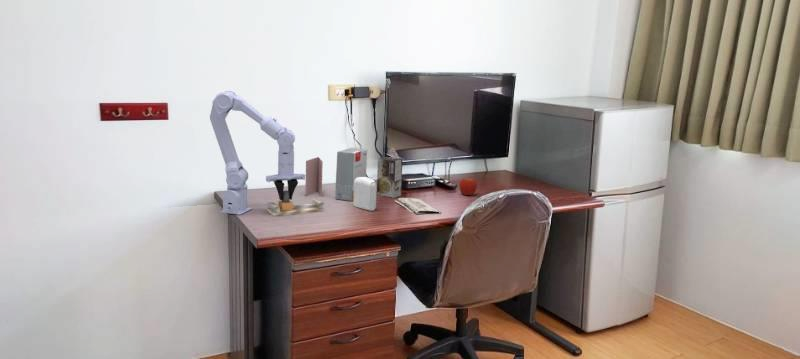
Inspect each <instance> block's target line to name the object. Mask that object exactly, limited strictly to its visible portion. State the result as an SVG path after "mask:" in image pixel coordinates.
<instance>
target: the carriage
mask: <svg viewBox="0 0 800 359" xmlns="http://www.w3.org/2000/svg"><path fill="white" fill-rule="evenodd" d="M289 194H290V191H288V190H283V200H278V201H277V202H278V204H277V205H278V206H280V207H282V209H281V210H282V211H285V210H292V207H293V206H294V203H293V202H292V201H291V200H290V199H289Z"/></svg>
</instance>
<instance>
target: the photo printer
mask: <svg viewBox="0 0 800 359" xmlns="http://www.w3.org/2000/svg"><path fill="white" fill-rule="evenodd" d="M352 201H353V207H355V208H359V209H363V210H367V211H375V209H377V208H376V207H377V181H375V180H374V179H372V178H370V177H367V176H366V177H358V178H356V179H355V180H354V196H353V200H352Z"/></svg>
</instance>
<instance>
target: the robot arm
mask: <svg viewBox="0 0 800 359" xmlns="http://www.w3.org/2000/svg"><path fill="white" fill-rule="evenodd" d="M211 106H212V107H211V109H210V114H209V121H210V123H211V126H212V129H213V132H214V135H215V138H216V141H217V144H218V146H219V148H220V150H219V151H220V152H221V155H222V158H223V161H224V164H225V168H224V170H225V174H226V179H225V181H226V184H227V186H226V187H227V189H226V191H225V192H224V193H223V195H222V210H220V213H222V214H231V215H238V216H239V215H242V214H244V213H246V212H248V211H251V210H252V209H253V208H252V207H249V206H248V185H247V183H246V182H247V181H248V180H249V173H248V171H247V169H246V168H244V165H243V163H242V161H240V159H239V155H238V153H237V151H236V147H235V144H234V141H233V139H232V135H231V133H230V130H229V127H228V124H227V120H226V118H228V117H227V116H228V114H229V113H230V111H231V110H232V111H234V112H236V111H238V112H242V113H243V114H245V115H246V116H248V117H249V118H250V119H251V120H253V121H255V122H256V123H257V124H259V126H260V131H262V132H264V133H265V134H266V135H268V136H269V137H270V138H271V139H273V140H275V141H276V144H277V145H278V151H277V152H278V153H277V154H278V155H277V156H278V157H277V174H272V175H266V176H265V181H266V182H268V183H271V182H273V183H274V186H275V188H276V191H277V193H278V194H277V195H278V199H279V201H282V200H283V191H284V188H285V182H284V181H286V182H287V183H286V184H287V191H290V194H289V201H291V200H292V199H293V196H294V193H295V192H294V191H296V187H297V186H298V184H299V181H298V180H303V181H304V180H305V181H306V173H295V150H294V149H295V147H294V143H295V141H296V135H295V134H294V132H293V131H292V130H291V129H288V127H287V126H283V125H282V124H280V123H279V122H278V121H277V120H278V119H277V118H275V117H273V118H272V116H269V117H268V116H264V115H263V114H262V113H261V112H260V111H258V109H256V108H255V107H254V106H253V105H252V104H250V103H249V102H248V101H247V100H246V99H244V98H243V97H241V96H240V95H238V94H236V92H234V91H232V90H227V91H226V90H225V91H224V92H220V93H218V94H216V96H215V97H214V99H212V105H211Z"/></svg>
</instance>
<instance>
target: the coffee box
mask: <svg viewBox="0 0 800 359" xmlns="http://www.w3.org/2000/svg"><path fill="white" fill-rule="evenodd" d="M376 174H377V176H376V177H377V178H376V185H377V187H376V196H382V197H388V198H397V197H401V196H402V182H403V181H402V179H403V158H399V157H398V158H396V157H391V156H383V157H380V158H377V173H376Z"/></svg>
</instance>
